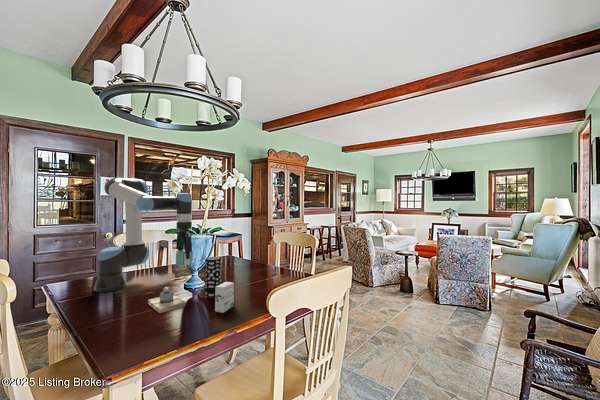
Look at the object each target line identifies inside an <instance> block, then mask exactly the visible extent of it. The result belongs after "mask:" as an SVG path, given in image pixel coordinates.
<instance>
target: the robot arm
mask: <svg viewBox="0 0 600 400" xmlns="http://www.w3.org/2000/svg"><path fill="white" fill-rule="evenodd" d="M148 187H149V186H148V184H147V182H145V181H144V180H143V179H140V178H139V179H138V178H132V177H131V178H128V177H127V178H126V177H125V178H124V177H114V178H110V179H109V180H107V181H106V182H105V184H104V188H103V189H104V191H105V192H104V193H106V194H107V196H110V197H111V198H114V199H121V200H122V202H124V205H125V208H124V209H125V213H124V214H125V243H123V245H122V246H118V245H117V246H110V247H106V248H105V247H104V249H101V250H99V252H98V255H97V262H98V265H97V267H98V268H97V273H98V275H97V279H96V281H95V284H94V287H93V291H94V292H95V291H96V292H95V293H110V292H109V291H111V292H115V291H116V292H117V291H120V290H122V289H125V288H126V287H127V283H126V278H125V277H124V273H123V269H124V268H128V267H134V266H139V265H143V264H145V263H146V262H147V261H148V260H149V257H150V249H149V246H148V245H146V242H145V241H143V229H142V227H143V225H142V223H143V221H142V218H143V217H142V212H150V211H151V212H154V211H155V212H156V211H176V216H175V218H176V221H177V222H176V230H177V231H176V246H175V248H176V249H177V251H179V250H185V252H184V265H185V266H189V265H191V264H190V252H191V253H193V245H192V244H193V243H192V235H193V234H192V232H190V231H189V230H191V229H192V225H193V224H192V220H193V218H192V217H193V215H192V214H193V212H192V211H193V198H192V193H189V192H188V193H187V192H186V193H185V192H178V193H177V194H176V196H154V195H150V194H148V193H149V188H148Z"/></svg>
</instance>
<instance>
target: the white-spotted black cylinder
mask: <svg viewBox="0 0 600 400" xmlns="http://www.w3.org/2000/svg"><path fill="white" fill-rule="evenodd" d="M204 261H205V262H204V263H205V264H204V267H205V271H204V277H205V278H204V280H205V281H204V297H205V298H207V299H215V287H216V286H218V285H220V284H222V257H220V256H209V257H206V258H205V260H204Z"/></svg>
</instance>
